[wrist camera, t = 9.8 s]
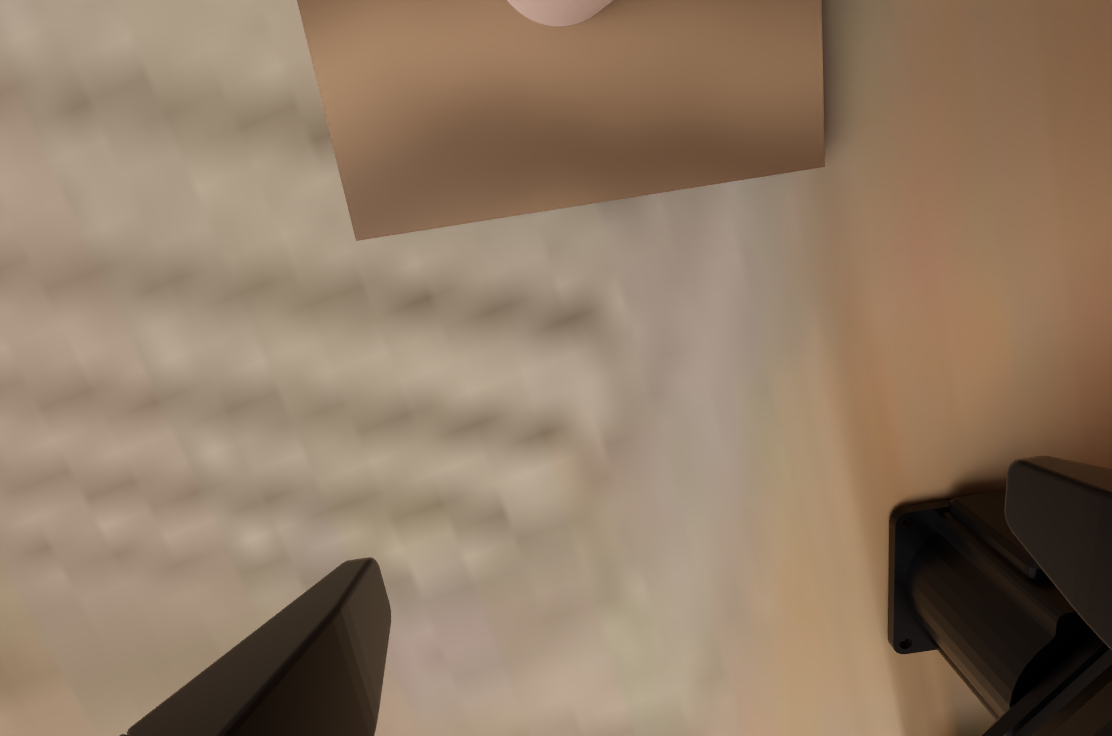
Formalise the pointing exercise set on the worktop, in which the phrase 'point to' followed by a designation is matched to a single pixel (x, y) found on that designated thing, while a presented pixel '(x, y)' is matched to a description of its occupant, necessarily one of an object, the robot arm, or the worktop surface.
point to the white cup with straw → (559, 10)
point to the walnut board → (558, 103)
